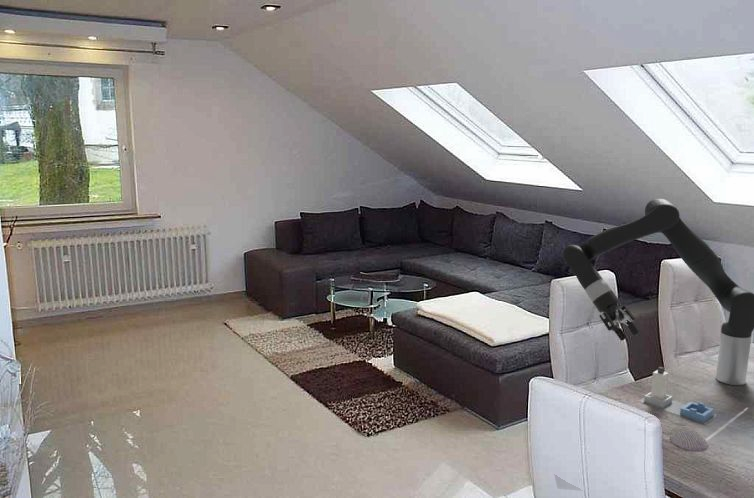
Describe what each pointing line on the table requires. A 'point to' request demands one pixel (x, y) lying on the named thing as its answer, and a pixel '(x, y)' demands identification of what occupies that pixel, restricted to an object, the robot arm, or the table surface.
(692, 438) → the seashell
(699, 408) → the socket
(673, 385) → the table surface
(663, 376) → the white knobbed square peg
